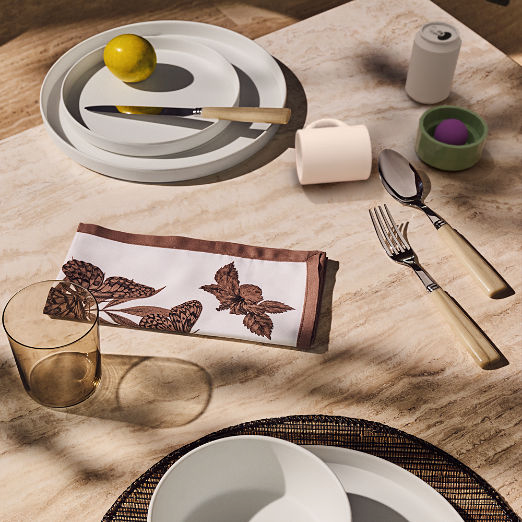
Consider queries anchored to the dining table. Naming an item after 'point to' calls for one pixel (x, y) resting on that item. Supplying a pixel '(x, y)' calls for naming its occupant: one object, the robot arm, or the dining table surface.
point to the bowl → (444, 153)
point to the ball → (451, 132)
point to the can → (433, 62)
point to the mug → (332, 152)
